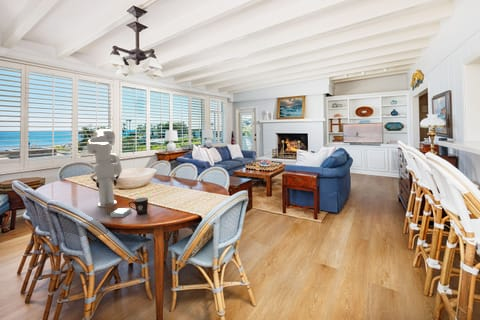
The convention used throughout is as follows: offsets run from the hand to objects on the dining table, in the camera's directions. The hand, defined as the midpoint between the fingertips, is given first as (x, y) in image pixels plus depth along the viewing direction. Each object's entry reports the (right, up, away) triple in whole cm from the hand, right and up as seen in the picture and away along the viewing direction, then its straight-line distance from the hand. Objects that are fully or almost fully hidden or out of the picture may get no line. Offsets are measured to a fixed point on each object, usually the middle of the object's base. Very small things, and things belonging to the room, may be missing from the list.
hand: (106, 186), depth 154 cm
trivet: (+10, -18, -1) cm, 21 cm away
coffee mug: (+23, -18, 0) cm, 29 cm away
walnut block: (0, -18, +3) cm, 19 cm away
